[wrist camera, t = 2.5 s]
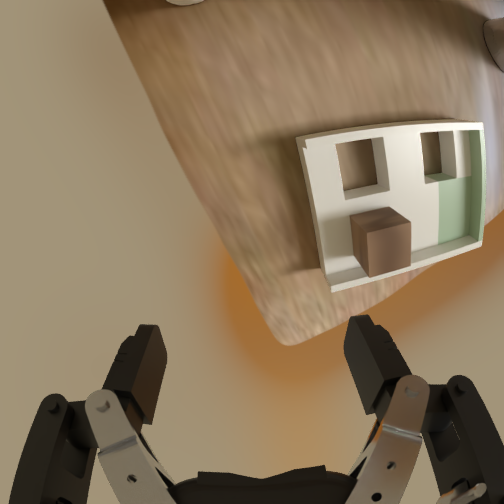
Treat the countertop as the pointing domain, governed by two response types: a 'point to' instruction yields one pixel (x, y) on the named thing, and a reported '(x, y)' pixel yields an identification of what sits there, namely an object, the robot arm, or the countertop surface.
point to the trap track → (398, 193)
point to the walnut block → (381, 241)
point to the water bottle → (184, 2)
